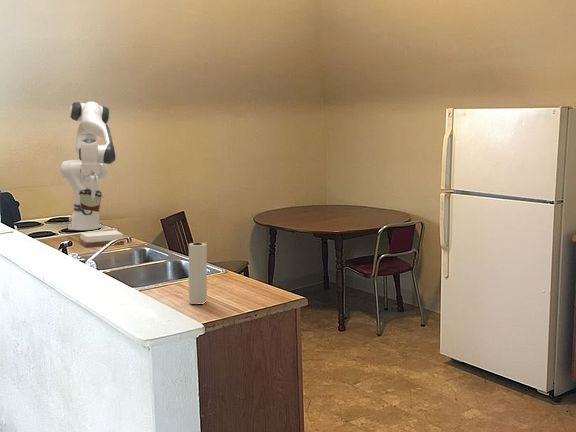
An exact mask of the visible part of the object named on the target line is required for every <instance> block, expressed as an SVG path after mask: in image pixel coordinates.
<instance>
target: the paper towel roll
mask: <svg viewBox="0 0 576 432" xmlns="http://www.w3.org/2000/svg"><path fill="white" fill-rule="evenodd" d="M207 243H208V242H191V243H188V303H191V304H198V303H203V302H205V301H206V300H207V301H208V299H207V298H208V297H207V296H208V284H207V283H208V282H207V281H208V274H207V273H208V271H207V270H208V267H207V266H208V264H207V263H208V261H207V260H208V251H207V250H208V244H207ZM191 304H190V305H191Z"/></svg>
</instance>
